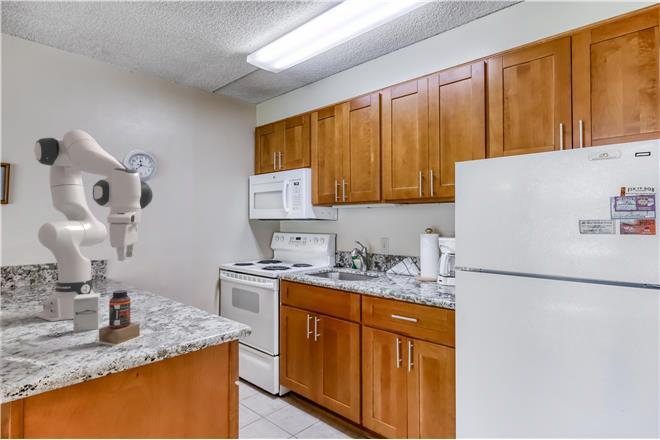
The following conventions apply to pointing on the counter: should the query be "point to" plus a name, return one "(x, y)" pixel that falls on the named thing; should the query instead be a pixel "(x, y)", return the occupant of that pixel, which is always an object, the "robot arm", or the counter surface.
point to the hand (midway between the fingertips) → (125, 258)
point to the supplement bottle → (119, 309)
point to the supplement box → (86, 312)
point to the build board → (118, 344)
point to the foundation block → (119, 333)
